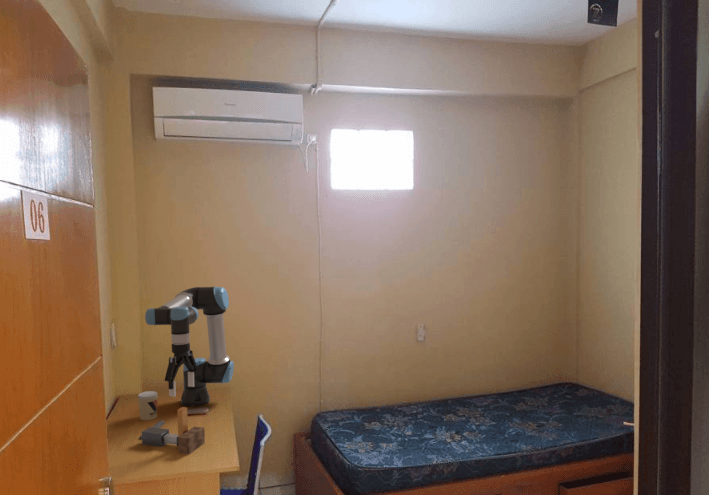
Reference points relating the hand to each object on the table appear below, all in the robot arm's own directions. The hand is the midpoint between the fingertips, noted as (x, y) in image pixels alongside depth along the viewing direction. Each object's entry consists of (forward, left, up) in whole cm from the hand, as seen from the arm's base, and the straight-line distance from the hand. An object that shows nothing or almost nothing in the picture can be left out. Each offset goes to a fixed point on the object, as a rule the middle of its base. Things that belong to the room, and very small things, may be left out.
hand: (182, 391), depth 232 cm
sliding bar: (0, -5, -24) cm, 24 cm away
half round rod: (-12, -25, -26) cm, 38 cm away
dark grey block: (0, -14, -25) cm, 29 cm away
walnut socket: (0, +4, -25) cm, 25 cm away
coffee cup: (-26, -38, -25) cm, 53 cm away
